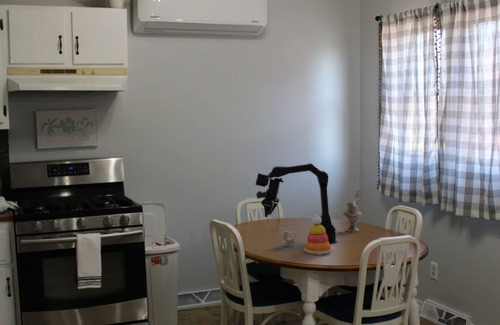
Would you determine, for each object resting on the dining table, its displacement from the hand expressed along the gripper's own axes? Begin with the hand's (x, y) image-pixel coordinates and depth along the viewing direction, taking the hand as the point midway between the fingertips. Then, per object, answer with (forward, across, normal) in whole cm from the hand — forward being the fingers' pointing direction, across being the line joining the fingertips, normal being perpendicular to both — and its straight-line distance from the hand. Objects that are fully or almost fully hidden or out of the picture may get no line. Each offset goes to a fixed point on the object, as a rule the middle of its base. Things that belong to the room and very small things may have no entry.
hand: (267, 216), depth 304 cm
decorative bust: (+4, -42, +45) cm, 61 cm away
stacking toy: (+10, +15, +33) cm, 37 cm away
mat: (+12, +4, +17) cm, 21 cm away
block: (+12, +7, +16) cm, 21 cm away
